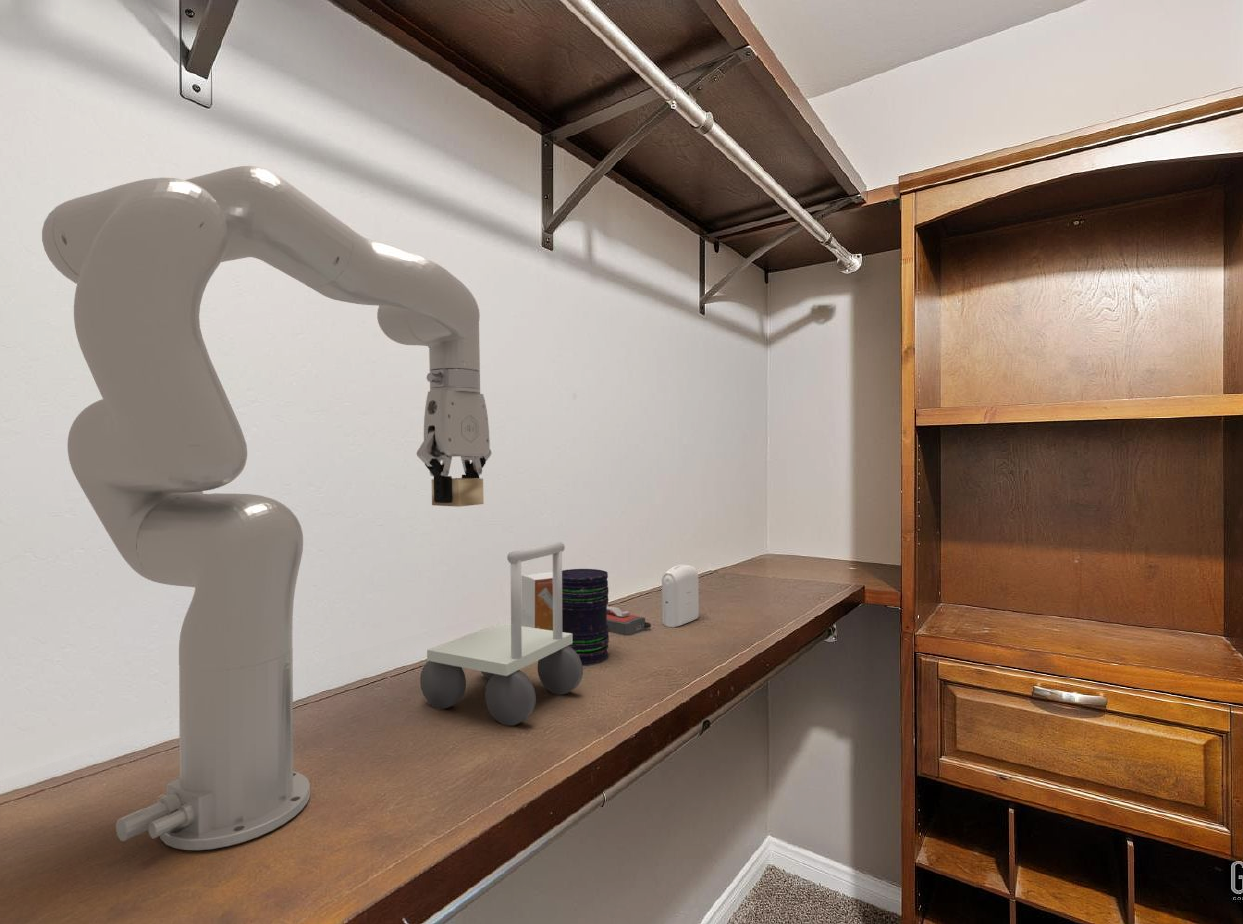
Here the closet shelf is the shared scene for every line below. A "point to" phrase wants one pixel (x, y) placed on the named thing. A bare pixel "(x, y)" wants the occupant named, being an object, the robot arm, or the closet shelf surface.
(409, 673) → the closet shelf surface
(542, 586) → the small box
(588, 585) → the dark blue cylinder
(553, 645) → the trolley
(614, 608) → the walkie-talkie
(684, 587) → the photo printer
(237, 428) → the robot arm
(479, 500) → the block
